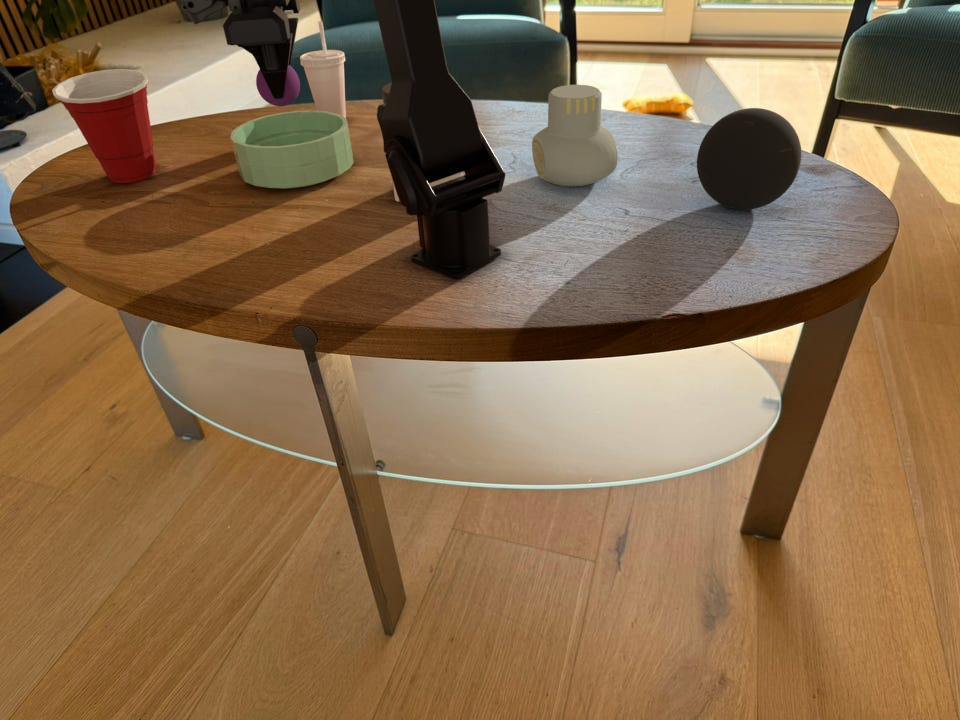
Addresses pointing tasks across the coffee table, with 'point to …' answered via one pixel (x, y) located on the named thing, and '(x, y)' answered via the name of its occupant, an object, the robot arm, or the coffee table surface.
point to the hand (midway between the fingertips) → (280, 92)
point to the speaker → (749, 158)
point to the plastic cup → (113, 120)
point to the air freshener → (574, 139)
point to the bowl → (292, 149)
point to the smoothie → (326, 77)
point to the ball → (289, 93)
